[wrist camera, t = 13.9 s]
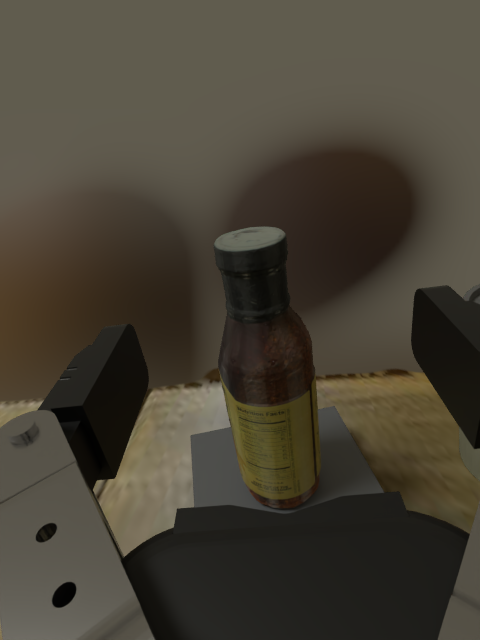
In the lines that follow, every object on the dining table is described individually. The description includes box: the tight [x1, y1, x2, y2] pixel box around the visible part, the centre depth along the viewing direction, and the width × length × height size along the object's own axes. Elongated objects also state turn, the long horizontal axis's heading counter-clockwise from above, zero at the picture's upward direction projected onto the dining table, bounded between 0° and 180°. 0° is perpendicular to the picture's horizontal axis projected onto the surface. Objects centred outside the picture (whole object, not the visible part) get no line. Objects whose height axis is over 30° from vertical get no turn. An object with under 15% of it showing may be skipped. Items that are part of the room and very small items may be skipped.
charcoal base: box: [191, 406, 384, 514], centre depth 32 cm, size 14×14×4 cm
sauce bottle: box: [214, 227, 321, 509], centre depth 26 cm, size 7×6×20 cm
